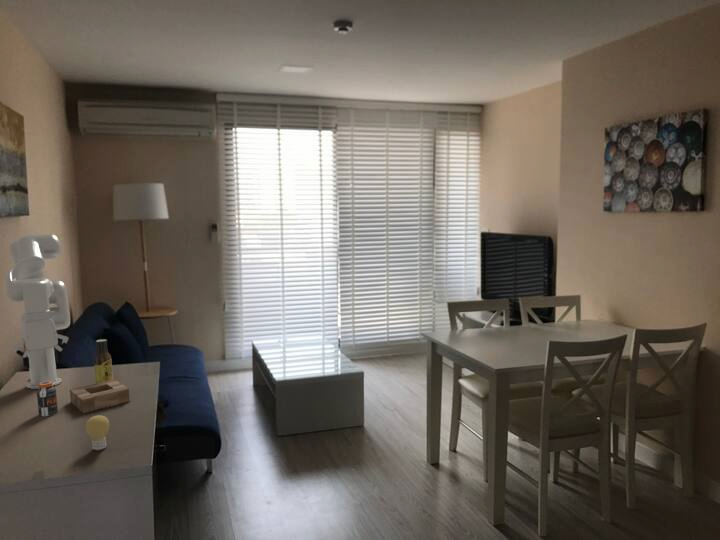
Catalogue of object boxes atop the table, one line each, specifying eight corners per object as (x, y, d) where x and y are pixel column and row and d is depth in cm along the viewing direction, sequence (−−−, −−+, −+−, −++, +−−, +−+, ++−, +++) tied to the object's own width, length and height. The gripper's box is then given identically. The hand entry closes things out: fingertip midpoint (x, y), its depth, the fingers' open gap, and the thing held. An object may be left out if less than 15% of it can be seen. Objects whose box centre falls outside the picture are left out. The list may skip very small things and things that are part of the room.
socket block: (71, 402, 211) (69, 389, 211) (115, 391, 222) (114, 379, 221) (83, 413, 199) (81, 399, 199) (129, 401, 210) (128, 388, 209)
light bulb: (92, 444, 172) (89, 413, 171) (114, 443, 172) (111, 411, 171) (84, 454, 165) (80, 421, 164) (107, 452, 166) (103, 419, 165)
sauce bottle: (108, 392, 222) (104, 342, 219) (93, 392, 222) (88, 342, 220) (117, 386, 228) (112, 338, 226) (101, 387, 228) (97, 338, 226)
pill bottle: (49, 417, 197) (46, 385, 196) (35, 416, 198) (31, 385, 197) (62, 411, 203) (58, 380, 201) (47, 410, 204) (44, 379, 203)
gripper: (62, 311, 205) (67, 358, 206) (7, 319, 193) (12, 368, 195) (68, 313, 199) (73, 361, 201) (11, 322, 188) (17, 372, 190)
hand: (43, 365), depth 198 cm, fingers open, 9 cm apart
